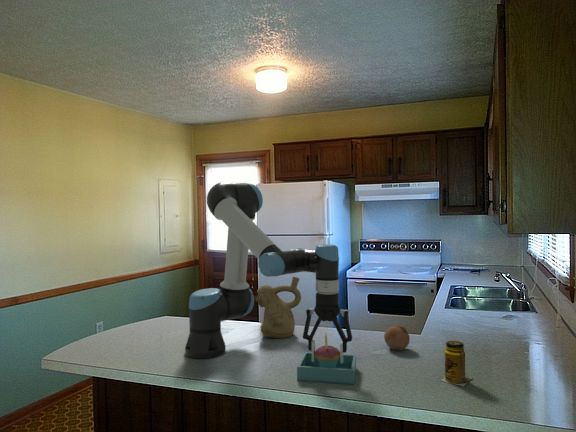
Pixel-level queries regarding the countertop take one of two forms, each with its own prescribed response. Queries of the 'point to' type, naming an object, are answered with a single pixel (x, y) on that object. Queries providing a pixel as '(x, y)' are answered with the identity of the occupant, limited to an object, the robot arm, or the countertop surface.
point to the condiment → (455, 364)
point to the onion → (397, 337)
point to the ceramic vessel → (278, 310)
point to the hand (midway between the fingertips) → (327, 361)
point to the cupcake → (327, 355)
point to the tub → (327, 370)
